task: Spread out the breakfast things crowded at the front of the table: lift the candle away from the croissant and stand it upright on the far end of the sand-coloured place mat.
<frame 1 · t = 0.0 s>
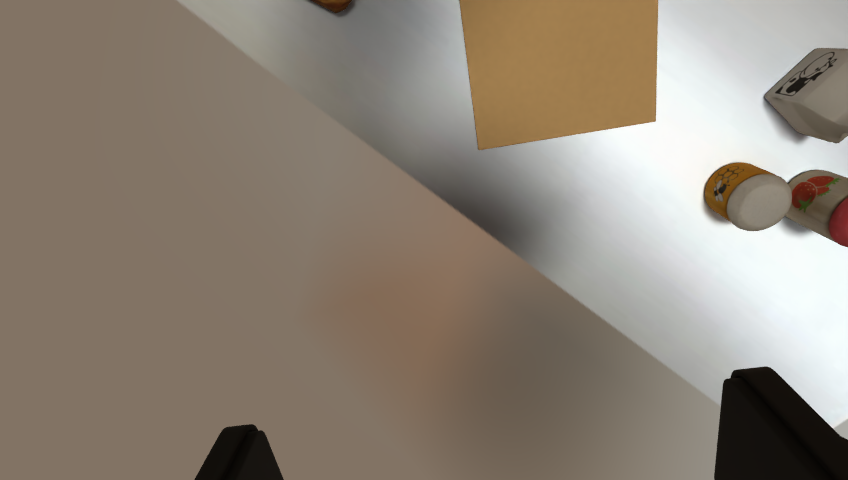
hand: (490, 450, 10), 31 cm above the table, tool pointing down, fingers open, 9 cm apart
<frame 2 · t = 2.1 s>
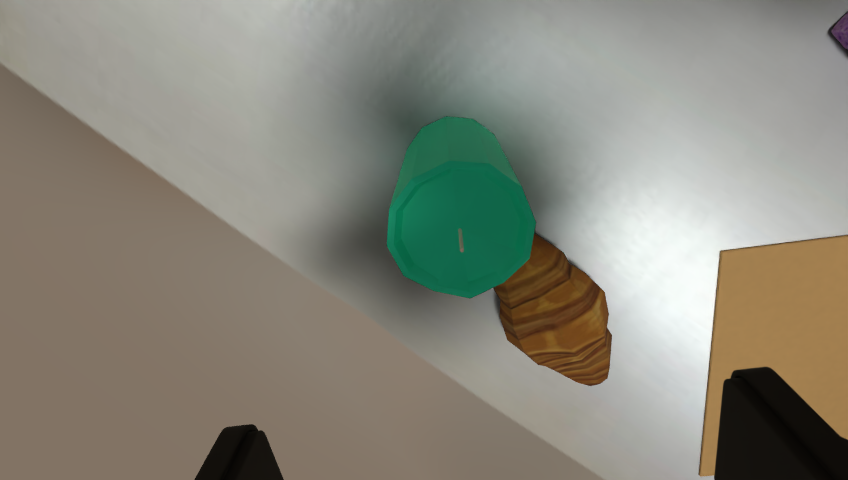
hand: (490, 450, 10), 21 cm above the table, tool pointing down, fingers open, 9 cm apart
candle: (453, 165, 28), on the table
croissant: (546, 297, 32), on the table
place mat: (811, 365, 33), on the table
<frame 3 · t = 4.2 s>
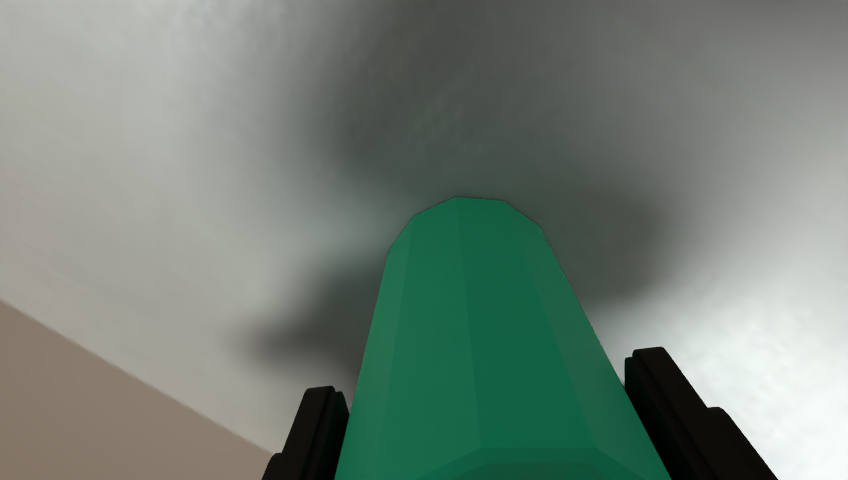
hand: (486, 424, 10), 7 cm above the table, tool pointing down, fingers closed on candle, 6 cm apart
candle: (468, 273, 17), on the table, touching gripper
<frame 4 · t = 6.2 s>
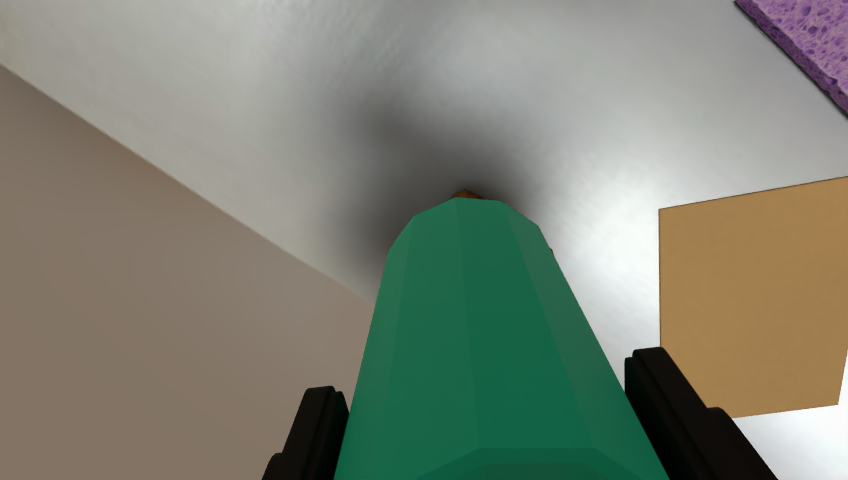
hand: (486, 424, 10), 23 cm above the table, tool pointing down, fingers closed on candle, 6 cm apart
candle: (468, 273, 17), point 16 cm above the table, touching gripper
sponge: (846, 18, 28), on the table
place mat: (755, 314, 36), on the table
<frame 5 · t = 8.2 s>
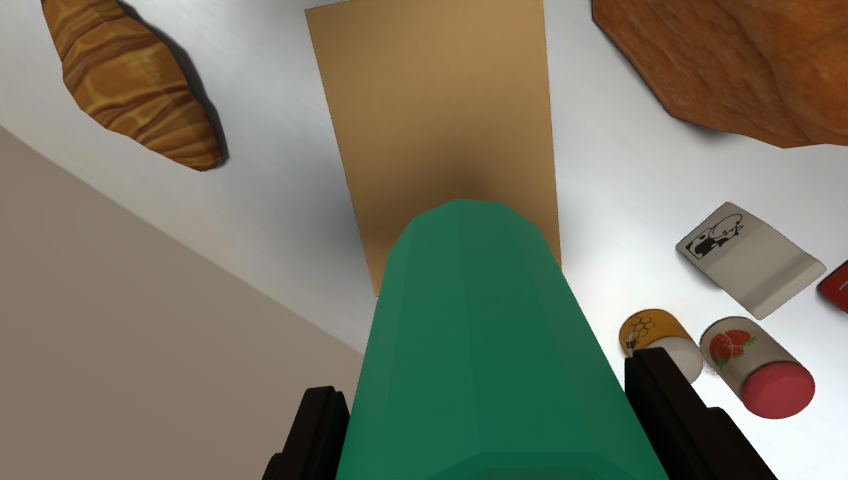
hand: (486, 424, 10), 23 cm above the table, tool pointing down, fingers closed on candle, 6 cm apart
toy food: (787, 248, 34), on the table
candle: (468, 274, 17), point 16 cm above the table, touching gripper
croissant: (150, 77, 30), on the table
place mat: (445, 152, 31), on the table
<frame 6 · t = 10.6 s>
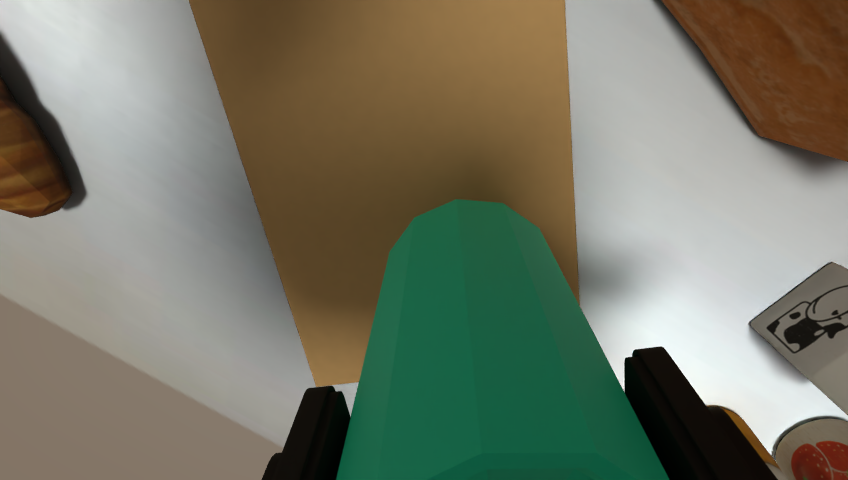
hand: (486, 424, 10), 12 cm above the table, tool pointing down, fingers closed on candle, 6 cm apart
candle: (469, 275, 17), point 5 cm above the table, touching gripper
place mat: (411, 188, 21), on the table
when the fingers open (7 cm above the table, at t = 12.3 s): candle stays where it is, resting on place mat.
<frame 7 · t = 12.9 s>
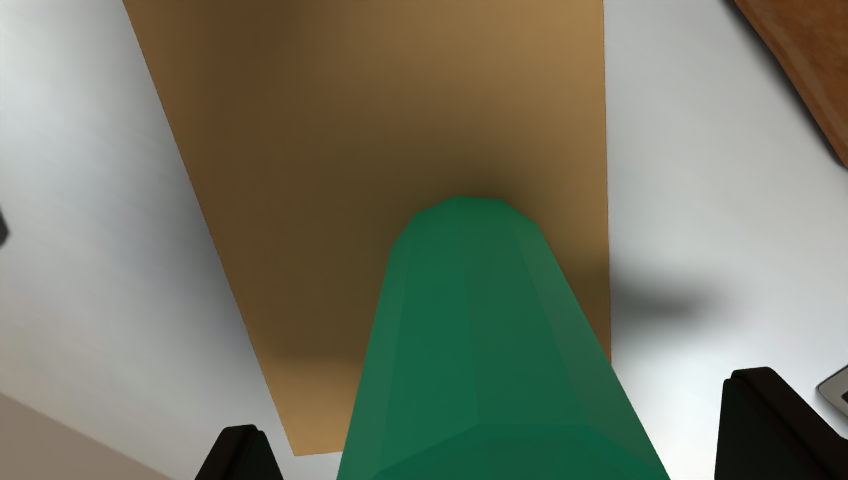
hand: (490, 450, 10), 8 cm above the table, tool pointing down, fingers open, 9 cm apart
candle: (468, 270, 17), resting on place mat
place mat: (406, 228, 17), on the table
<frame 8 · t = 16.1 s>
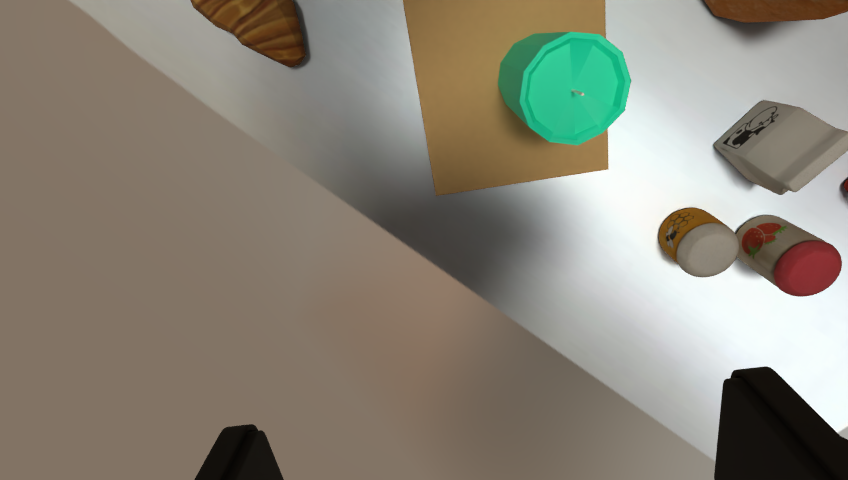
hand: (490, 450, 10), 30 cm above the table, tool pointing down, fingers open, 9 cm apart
toy food: (814, 147, 37), on the table
candle: (537, 76, 35), resting on place mat
place mat: (507, 53, 35), on the table
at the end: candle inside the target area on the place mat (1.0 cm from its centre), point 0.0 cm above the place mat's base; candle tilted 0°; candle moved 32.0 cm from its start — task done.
